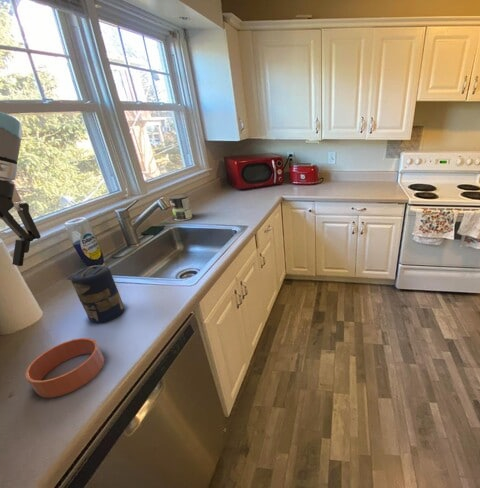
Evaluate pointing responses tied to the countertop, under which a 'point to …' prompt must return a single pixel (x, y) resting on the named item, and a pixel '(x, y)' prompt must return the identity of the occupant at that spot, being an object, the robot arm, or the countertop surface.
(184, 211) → the coffee can
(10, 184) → the robot arm
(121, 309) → the canister
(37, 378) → the ring
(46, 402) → the countertop surface
